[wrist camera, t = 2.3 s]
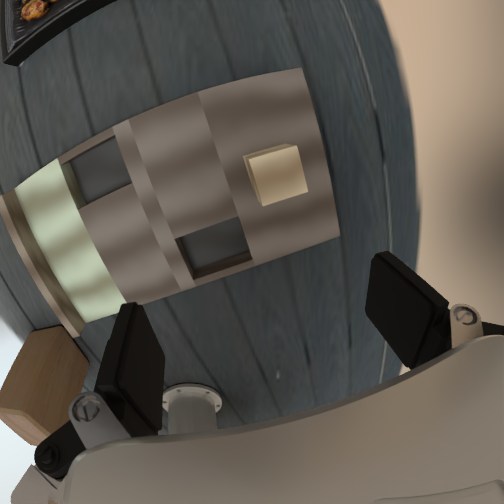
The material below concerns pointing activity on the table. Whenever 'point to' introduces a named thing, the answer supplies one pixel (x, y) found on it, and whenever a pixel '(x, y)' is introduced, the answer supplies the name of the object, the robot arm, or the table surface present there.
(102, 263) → the board
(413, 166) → the table surface
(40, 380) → the block
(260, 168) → the birch block
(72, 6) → the food platter
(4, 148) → the table surface
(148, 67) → the table surface
